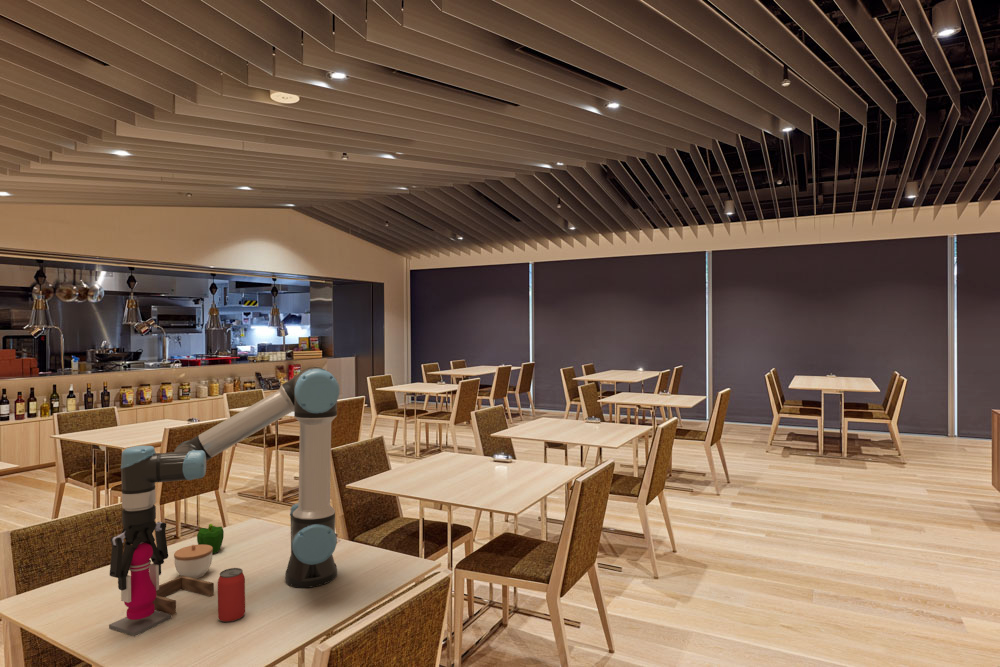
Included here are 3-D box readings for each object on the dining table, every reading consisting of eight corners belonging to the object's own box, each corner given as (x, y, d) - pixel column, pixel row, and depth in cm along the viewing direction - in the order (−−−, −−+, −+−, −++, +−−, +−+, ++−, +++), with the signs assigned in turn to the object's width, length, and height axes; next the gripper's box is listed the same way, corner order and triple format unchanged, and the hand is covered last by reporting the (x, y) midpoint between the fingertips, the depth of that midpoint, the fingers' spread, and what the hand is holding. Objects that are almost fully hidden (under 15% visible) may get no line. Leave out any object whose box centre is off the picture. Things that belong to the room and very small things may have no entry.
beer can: (228, 625, 154) (227, 579, 154) (212, 619, 158) (212, 573, 158) (250, 614, 160) (250, 570, 160) (235, 608, 164) (234, 565, 163)
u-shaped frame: (213, 595, 172) (213, 582, 172) (172, 615, 160) (172, 601, 160) (182, 587, 178) (182, 575, 178) (140, 606, 166) (140, 593, 166)
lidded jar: (220, 568, 191) (219, 539, 191) (199, 583, 180) (199, 552, 180) (188, 567, 192) (187, 538, 192) (166, 582, 181) (166, 551, 181)
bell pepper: (200, 548, 209) (199, 520, 209) (225, 546, 211) (225, 518, 211) (194, 557, 201) (193, 527, 201) (220, 555, 203) (220, 525, 203)
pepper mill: (163, 609, 158) (161, 534, 158) (138, 622, 151) (137, 543, 151) (142, 606, 161) (141, 531, 160) (117, 618, 154) (116, 540, 153)
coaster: (171, 618, 158) (171, 614, 158) (134, 636, 149) (134, 632, 149) (146, 611, 163) (146, 607, 162) (109, 628, 153) (109, 624, 153)
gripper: (164, 495, 166) (165, 577, 166) (90, 516, 148) (92, 608, 148) (183, 498, 163) (184, 582, 163) (109, 520, 145) (111, 614, 145)
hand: (140, 594), depth 156 cm, fingers closed on pepper mill, 7 cm apart
